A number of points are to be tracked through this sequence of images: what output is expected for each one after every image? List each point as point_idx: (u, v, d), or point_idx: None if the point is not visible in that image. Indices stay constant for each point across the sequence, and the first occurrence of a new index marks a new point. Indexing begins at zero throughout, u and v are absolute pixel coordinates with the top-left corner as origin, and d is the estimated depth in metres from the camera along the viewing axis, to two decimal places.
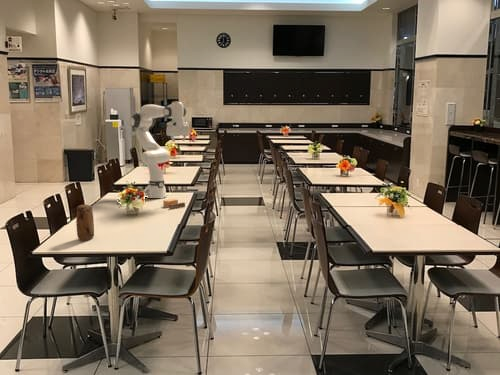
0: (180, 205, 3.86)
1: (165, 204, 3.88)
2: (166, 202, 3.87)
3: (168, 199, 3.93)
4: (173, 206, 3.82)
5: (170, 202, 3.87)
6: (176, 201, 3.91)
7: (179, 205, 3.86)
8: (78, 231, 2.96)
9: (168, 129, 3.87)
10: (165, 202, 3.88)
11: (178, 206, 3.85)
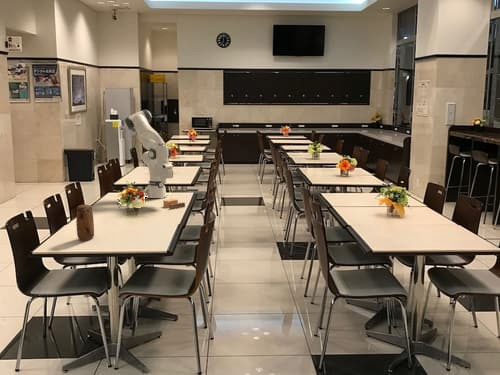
0: (180, 205, 3.86)
1: (165, 204, 3.88)
2: (166, 202, 3.87)
3: (168, 199, 3.92)
4: (173, 206, 3.82)
5: (170, 202, 3.87)
6: (176, 201, 3.91)
7: (179, 205, 3.86)
8: (78, 231, 2.96)
9: (171, 172, 3.86)
10: (165, 202, 3.87)
11: (178, 206, 3.85)
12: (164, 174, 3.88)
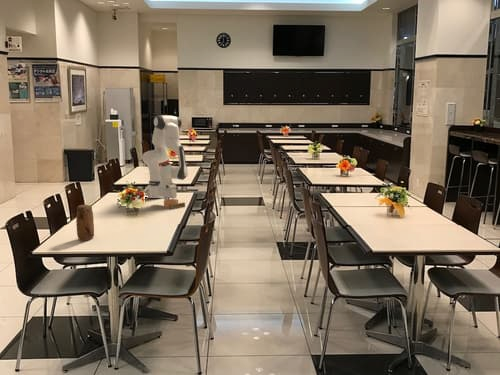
0: (180, 205, 3.86)
1: (166, 204, 3.87)
2: (167, 202, 3.86)
3: None
4: (173, 206, 3.82)
5: (171, 202, 3.86)
6: (176, 201, 3.91)
7: (179, 205, 3.86)
8: (78, 231, 2.96)
9: (175, 192, 3.86)
10: (166, 202, 3.87)
11: (178, 206, 3.85)
12: (167, 194, 3.88)
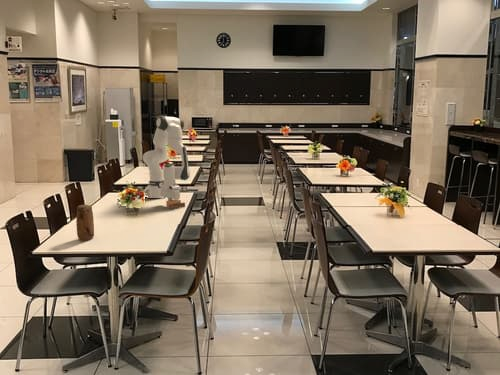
0: (180, 205, 3.86)
1: (168, 204, 3.85)
2: (169, 203, 3.84)
3: (171, 200, 3.90)
4: (173, 206, 3.82)
5: (174, 202, 3.84)
6: (179, 201, 3.89)
7: (179, 205, 3.86)
8: (78, 231, 2.96)
9: (178, 193, 3.83)
10: (168, 203, 3.85)
11: (178, 206, 3.85)
12: (171, 195, 3.86)
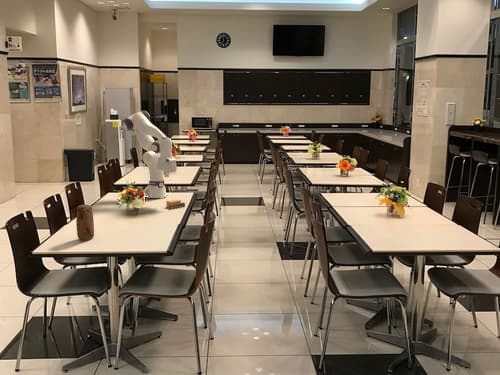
0: (180, 205, 3.86)
1: (168, 204, 3.85)
2: (169, 203, 3.84)
3: (171, 200, 3.90)
4: (173, 206, 3.82)
5: (173, 203, 3.84)
6: (179, 202, 3.89)
7: (179, 205, 3.86)
8: (78, 231, 2.96)
9: (175, 166, 3.84)
10: (168, 203, 3.85)
11: (178, 206, 3.85)
12: (167, 168, 3.87)
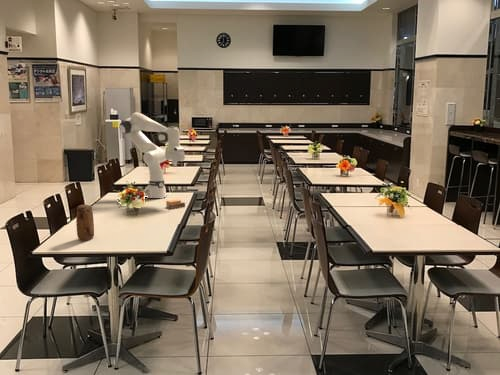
0: (180, 205, 3.86)
1: (168, 204, 3.85)
2: (169, 203, 3.84)
3: (171, 200, 3.90)
4: (173, 206, 3.82)
5: (173, 203, 3.84)
6: (179, 202, 3.88)
7: (179, 205, 3.86)
8: (78, 231, 2.96)
9: (183, 155, 3.89)
10: (168, 203, 3.85)
11: (178, 206, 3.85)
12: (175, 157, 3.92)
